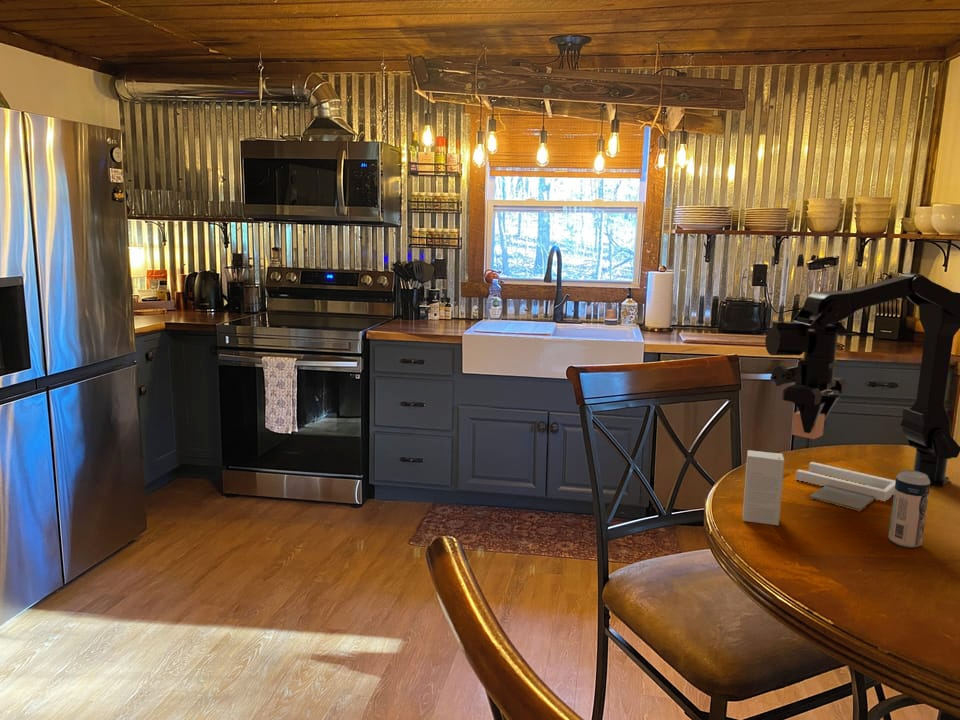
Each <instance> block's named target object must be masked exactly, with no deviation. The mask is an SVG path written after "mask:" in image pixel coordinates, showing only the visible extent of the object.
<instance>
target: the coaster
mask: <svg viewBox="0 0 960 720" xmlns="http://www.w3.org/2000/svg"><path fill="white" fill-rule="evenodd" d="M810 498H813V499H818V500H822V501H826V502H830V503H834V504H838V505H842V506H845V507H849V508H853V509H857V510H861V509H863V508H864V507H865V506H866V505H867V504H869V503H870V502H871V501H872V500H874V499H875V497H874V496H870V495H866V494H862V493H858V492H854V491H850V490H845V489H841V488H837V487H833V486H829V485H825V486H824V487H821V488H819V489H818V490H817V491H815V492H813V493H812V494H810V495H809V499H810ZM813 499H812V500H813ZM874 501H875V500H874ZM872 502H873V501H872ZM872 502H871V503H872ZM871 503H870V504H871ZM870 504H869V505H870ZM865 508H866V507H865ZM865 508H864V509H865ZM864 509H863V510H864Z"/></svg>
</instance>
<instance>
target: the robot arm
mask: <svg viewBox="0 0 960 720" xmlns="http://www.w3.org/2000/svg"><path fill="white" fill-rule="evenodd" d="M905 297H906V298H907V299H908V300H909V301H910V302H911V303H912V304H914V305H915V306H917V307H918V314H919V315H918V316H919V318H918V319H919V322H920V325H921V327H922V328H923V329H922V330H923V332H924V339H923V340H924V342H923V347H922V354H921V355H922V356H921V362H920V363H921V364H920V372H919V379H918V384H917V393H916V399H915V402H914V403H913V404H912V405H911V407H910V408H905V407H904V408H903V410H902V419H901V423H900V425H899V426H900V428H902V434H903V435H904V436H905V437H906V441H907V446H908V447H913V449H915V455H914V464H913V470H912V471H918V472H921V473H924V474H926V475H927V476H928V478H929V480H930V485H933V486H937V487H944V486H945V485H946V484H947V483H948V482H949V481H950V477H949V476H946V474H947V473H946V472H947V466H948V460H951V459H952V458H954V459H955V458H956V459H957V458H958V456H959V455H960V445H959V444H958V442H957V441H956V440H955V439H954V438H953V437H952V436H951V419H950V417H949V415H948V412H947V410H946V407H945V401H946V400H945V399H946V395H947V394H946V393H947V387H948V385H947V384H948V378H949V371H950V367H951V366H950V365H951V357H952V351H953V344H954V337H955V335H956V334H957V333H958V331H959V330H960V292H957V291H952V290H950V289H949V288H947V287H945V286H942V285H940V284H938V283H936V282H933V281H932V280H931V279H929V278H927V277H926V276H925V275H923V274H918V273H908V272H907V273H903V274H901V275H899V276H895V277H891V278H888V279H884V280H880V281H877V282H873V283H869V284H866V285H862V286H858V287H855V288H851V289H845V290H825V291H824V290H822V291H815V292H812V293H810V294H809V295H807V296H806V299H805V300H804V303H803V305H802V307H801V308H800V309H799V311H798V312H797V313H796V314H795V315H794V317H793V318H792V319H791V320H790V322H789V321H787V322H786V321H784V322H783V321H780V320H774V321H772V327H770V328H769V330H768V332H767V334H766V336H765V339H764V340H765V341H764V343H765V349H766V352H767V353H768V354H769V355H770V356H801V355H802V354H803V358H801V359H799V360H798V361H797V365H796V366H791V367H786V366H785V365H784V364H783V365H777V366H774V367H773V368H772V371H771V372H770V373H771V376H770V377H769V378H770V380H771V381H773V382H774V385H775V387H781V386H782V385H786V384H791V383H794V384H792V385H789V386H787V387H786V388H784V389H783V390H782V399H781V400H783V401H785V402H789V403H790V402H791V403H793V404H794V405H795V406H796V407H797V408H798V411H799V412H800V416H801V420H802V425H803V429H804V432H805V433H810V432H811V430H812V428H813V426H814V424H815V422H816V420H817V418H818V416H819V414H820V413H823V414H825V419H824V421H825V420H826V418H827V417H828V415H829V414H830V412H831V410H832V409H833V408H834V406H835V404H836V403H837V402H838V400H839V399H840V398H841V394H842V395H843V394H846V393H848V382H847V380H845V378H843V377H838V376H837V377H835V376H834V370H835V367H838V366H839V361H838V360H836V353H837V346H838V345H837V342H838V335H848V334H849V333H850V331H849V330H848V329H847V328H846V327H845V326H844V325H843V324H842V322H841V321H843V320H845V319H847V318H849V317H851V316H852V315H853V314H855V313H856V312H857V311H860V310H862V309H865V308H869V307H873V306H876V305H880V304H883V303H887V302H891V301H894V300H895V301H896V300H898V299H901V298H905ZM834 391H838V394H840V395H837V394H834Z"/></svg>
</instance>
